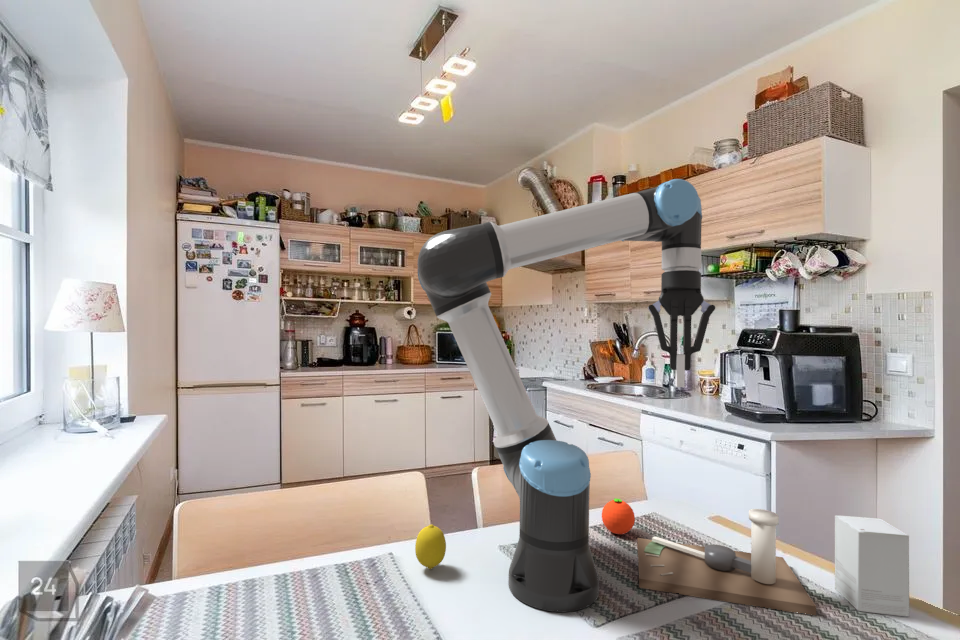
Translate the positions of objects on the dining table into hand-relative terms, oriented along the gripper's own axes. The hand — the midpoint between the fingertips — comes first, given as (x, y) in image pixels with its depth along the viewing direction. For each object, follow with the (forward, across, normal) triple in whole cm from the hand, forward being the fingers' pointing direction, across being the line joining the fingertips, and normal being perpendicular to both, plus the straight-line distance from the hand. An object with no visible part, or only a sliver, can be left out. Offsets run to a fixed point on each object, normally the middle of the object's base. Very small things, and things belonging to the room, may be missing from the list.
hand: (679, 386), depth 100 cm
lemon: (+33, +44, +25) cm, 60 cm away
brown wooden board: (+32, -5, +11) cm, 35 cm away
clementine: (+33, +12, -3) cm, 35 cm away
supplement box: (+33, -28, +12) cm, 45 cm away
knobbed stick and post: (+31, -5, +9) cm, 32 cm away
